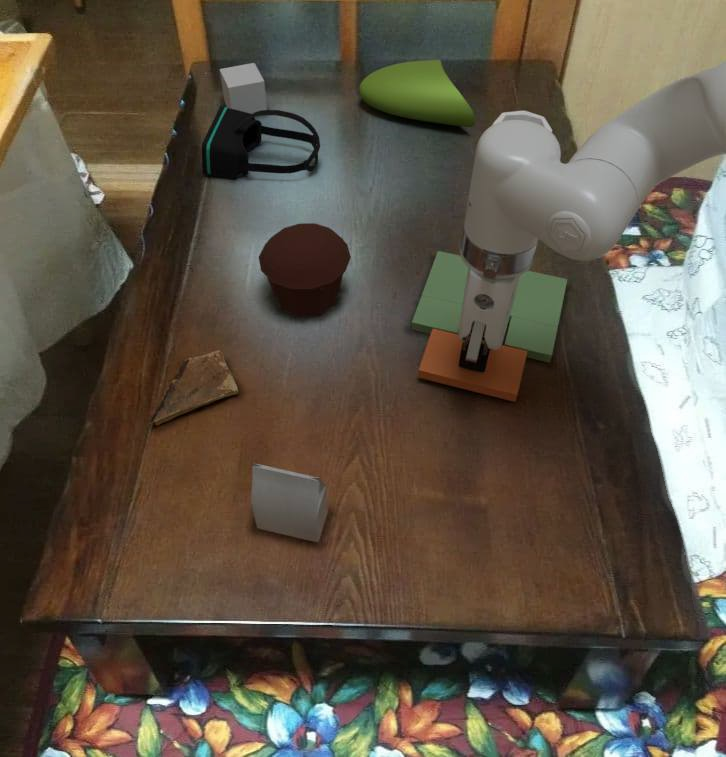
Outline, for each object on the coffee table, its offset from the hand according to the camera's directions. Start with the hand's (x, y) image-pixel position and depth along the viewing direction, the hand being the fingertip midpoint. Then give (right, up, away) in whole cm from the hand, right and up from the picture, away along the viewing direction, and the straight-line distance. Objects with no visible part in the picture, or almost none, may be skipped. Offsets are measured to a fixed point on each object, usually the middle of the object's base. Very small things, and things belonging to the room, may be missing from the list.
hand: (474, 356), depth 88 cm
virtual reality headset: (-29, +32, +28) cm, 51 cm away
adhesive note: (-33, +44, +37) cm, 66 cm away
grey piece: (-21, -18, -10) cm, 29 cm away
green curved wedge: (-4, +43, +37) cm, 57 cm away
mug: (+10, +29, +27) cm, 41 cm away
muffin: (-21, +9, +11) cm, 25 cm away
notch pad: (+3, +7, +9) cm, 12 cm away
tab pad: (+1, 0, +3) cm, 3 cm away
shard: (-33, -5, 0) cm, 33 cm away
